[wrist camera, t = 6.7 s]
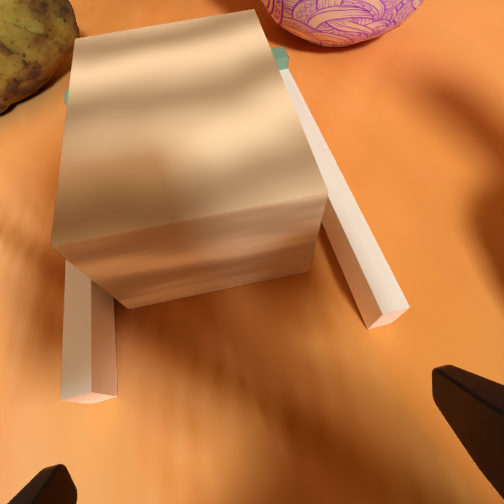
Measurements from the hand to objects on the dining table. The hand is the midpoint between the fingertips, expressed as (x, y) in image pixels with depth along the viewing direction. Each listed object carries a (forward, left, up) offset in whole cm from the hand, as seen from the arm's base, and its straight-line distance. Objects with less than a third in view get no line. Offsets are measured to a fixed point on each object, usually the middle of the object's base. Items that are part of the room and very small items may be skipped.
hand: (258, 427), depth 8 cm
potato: (+34, +14, -11) cm, 39 cm away
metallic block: (+16, +1, -11) cm, 20 cm away
